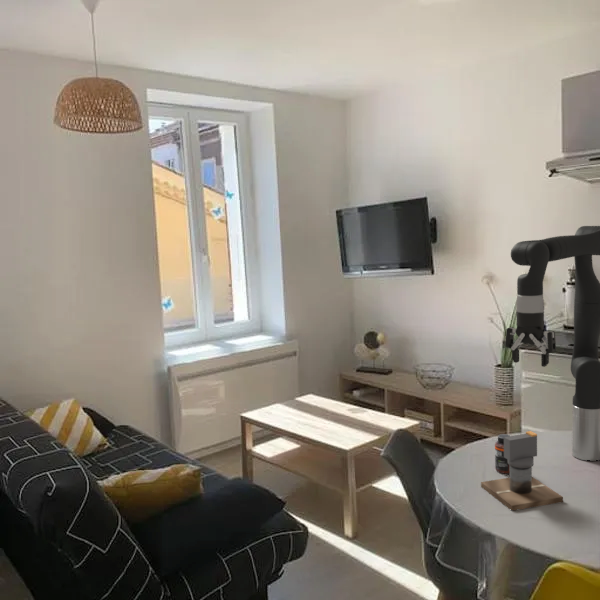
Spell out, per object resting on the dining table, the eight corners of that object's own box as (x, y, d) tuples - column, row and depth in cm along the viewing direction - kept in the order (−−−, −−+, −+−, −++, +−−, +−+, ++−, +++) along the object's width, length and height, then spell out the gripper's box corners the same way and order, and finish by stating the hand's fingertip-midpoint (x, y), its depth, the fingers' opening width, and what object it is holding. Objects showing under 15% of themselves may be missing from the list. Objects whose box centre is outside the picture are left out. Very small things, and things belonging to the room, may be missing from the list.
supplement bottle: (515, 467, 192) (514, 433, 191) (515, 475, 186) (514, 440, 185) (495, 466, 194) (495, 432, 193) (495, 473, 188) (494, 438, 187)
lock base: (528, 479, 183) (528, 450, 182) (562, 501, 168) (563, 471, 167) (481, 486, 180) (480, 458, 178) (511, 510, 164) (511, 479, 163)
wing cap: (514, 470, 168) (514, 441, 167) (499, 461, 175) (499, 433, 174) (541, 465, 170) (541, 436, 169) (526, 456, 177) (526, 428, 176)
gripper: (501, 309, 178) (501, 363, 180) (548, 313, 168) (548, 370, 170) (513, 306, 183) (513, 358, 185) (559, 309, 173) (559, 364, 175)
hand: (530, 364), depth 178 cm, fingers open, 8 cm apart
